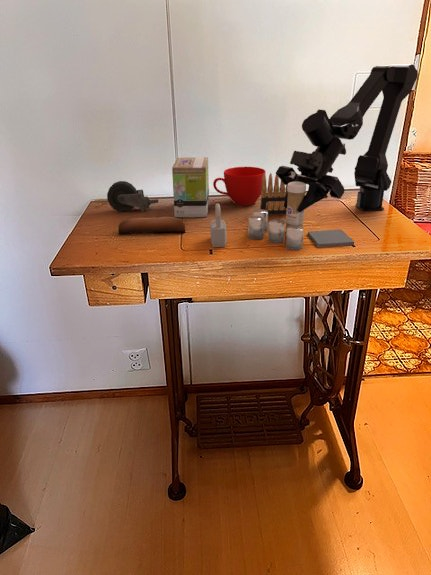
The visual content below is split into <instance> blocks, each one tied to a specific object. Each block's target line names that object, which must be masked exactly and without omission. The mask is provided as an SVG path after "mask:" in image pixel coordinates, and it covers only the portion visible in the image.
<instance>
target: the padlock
mask: <svg viewBox="0 0 431 575" xmlns="http://www.w3.org/2000/svg"><path fill="white" fill-rule="evenodd" d="M214 209H215V212H214V213H215V219H212V220H211V221H210V224H209V225H210V226H209V227H210V228H209V229H210V231H209V233H210V243H211V245H212V247H213V248H226V244H227V223H226V221H225V220H224V218H221V216H222V215H221V214H222V213H221V205H220V203H219V202H218V203H215V208H214Z"/></svg>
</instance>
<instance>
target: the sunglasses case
mask: <svg viewBox="0 0 431 575" xmlns="http://www.w3.org/2000/svg"><path fill="white" fill-rule="evenodd" d="M157 232H162V233H166V232H180V233H181V232H183V233H186V223H184V221H183V219H181V218H179V217H175V216H160V217H155V216H153V217H132V218H127V219H125V220H122V221H120V223H119V224H118V235H119V234H120V235H127V234H128V235H129V234H135V233H137V234H138V233H157Z"/></svg>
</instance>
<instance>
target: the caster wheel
mask: <svg viewBox="0 0 431 575" xmlns="http://www.w3.org/2000/svg"><path fill="white" fill-rule="evenodd" d="M144 193H145V192H144V190H143V189H136V187H135V186H134V185H133V184H132V183H130V182H128V181H125V180H119V181H116V182H114V183H112V185H111V186H110V187H109V188H108V191H107V193H106V196H107V197H106V199H107V202H108V204H109V206H110V207H111V208H112V209H113V210H115V211H118V212H119V213H121V212H122V213H127V212H129V211H132V210H133V209H134V208H140V209H139V210H140V212H141V213H143V212H144V213H145V211H146V209H147V210H148V209H150V206H151V205H152V204H158V203H159V199H158V198H156V199H149V197H148V196H147V195H146V196H145V194H144ZM144 210H145V211H144Z"/></svg>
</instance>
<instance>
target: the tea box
mask: <svg viewBox="0 0 431 575" xmlns="http://www.w3.org/2000/svg"><path fill="white" fill-rule="evenodd" d="M171 169H172V170H171V171H172V191H173V214H174V216H173V217H174V218H205V217H207V215H208V211H209V204H210V186H209V157H206V156H205V157H177V158H176V160H175V161H174V164H173V166H172V167H171Z"/></svg>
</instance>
